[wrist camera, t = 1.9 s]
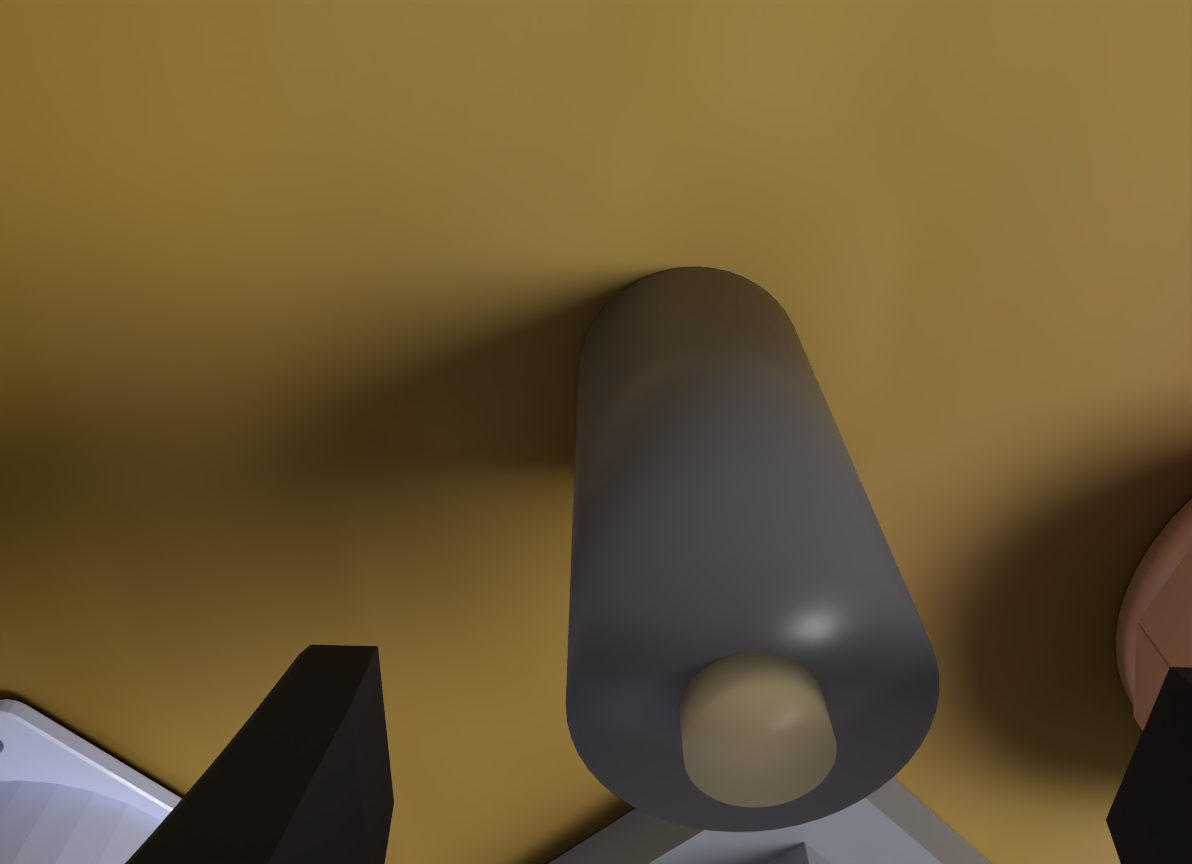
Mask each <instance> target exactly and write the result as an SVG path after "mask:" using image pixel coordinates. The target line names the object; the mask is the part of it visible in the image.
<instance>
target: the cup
mask: <svg viewBox="0 0 1192 864" xmlns="http://www.w3.org/2000/svg"><path fill="white" fill-rule="evenodd" d="M1115 645H1116V660H1117V666H1118V670H1119V674H1120V678H1121V681H1122V685H1123V687H1124V689H1125V691H1126V693H1127V695H1128V697H1129V699H1130V701H1131V703H1132V704H1133V706H1134V713H1133V716H1134V718H1135V720H1136V722H1137V723H1138V725H1139V726H1140V728H1141V729H1142V731H1143V730H1144V727H1145V725H1146V723H1147V720H1148V718H1149V715H1150V713H1151V711H1152V708H1153V706H1154V703H1155V701H1156V699H1157V696H1158V694H1159V692H1160V689H1161V687H1162V684H1163V682H1164V680H1165V677H1166V675H1167V672H1168V670H1169V668H1170V667H1192V498H1191V499H1190V500H1189V501H1188V502H1187V503H1186V504H1185V505H1184V506H1183V507H1182V508H1181V509H1180V510H1179V511H1178V512H1177V513H1176V514H1175V515H1174V516H1173V517H1172V518H1171V520H1170V521H1169V522H1168V524H1167V525H1166V526H1165V527H1164V529H1163V530H1162V531H1161V532H1160V534H1159V535H1158V536H1157V537H1156V539H1155V540H1154V541H1153V542H1152V544H1151V545H1150V547H1149V549H1148V550H1147V552H1146V554H1145V555H1144V557H1143V558H1142V560H1141V562H1140V563H1139V565H1138V566H1137V568H1136V570H1135V572H1134V575H1133V577H1132V579H1131V581H1130V583H1129V586H1128V588H1127V590H1126V592H1125V595H1124V599H1123V602H1122V606H1121V609H1120V613H1119V616H1118V622H1117V631H1116V639H1115Z"/></svg>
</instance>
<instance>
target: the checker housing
mask: <svg viewBox="0 0 1192 864" xmlns="http://www.w3.org/2000/svg"><path fill="white" fill-rule="evenodd" d="M548 864H991V863H990V862H989V861H988V860H986V859H985V858H984V857H983V856H982V855H981V854H980V853H979V852H977V851H976V850H975V849H974V848H973V847H972V846H971V845H969V844H968V843H967V842H966V841H965V840H964V839H963V838H961V837H960V836H959V835H958V834H957V833H956V832H955V831H954V830H952V829H951V828H950V827H949V826H948V825H947V824H946V823H944V822H943V821H942V820H941V819H940V818H939V817H938V816H937V815H935V814H934V813H933V812H932V811H931V810H930V809H929V808H927V807H926V806H925V805H924V804H923V803H922V802H921V801H919V800H918V799H917V798H916V797H915V796H914V795H913V794H912V793H910V792H909V791H908V790H907V789H906V788H905V787H904V786H902V785H901V784H900V783H899V782H898V781H897V780H896V779H895V778H891V779H890V780H889V781H888V782H887V783H885V784H884V785H883V786H882V787H880V788H879V789H878V790H876V791H875V792H873V793H872V794H870V795H869V796H867V797H865V798H864V799H862V800H861V801H859V802H857V803H855V804H853V805H851V806H849V807H847V808H845V809H843V810H841V811H839V812H836V813H834V814H831V815H829V816H826V817H824V818H821V819H818V820H814V821H811V822H808V823H804V824H801V825H796V826H791V827H786V828H781V829H775V830H766V831H757V832H722V831H709V830H703V829H697V828H690V827H686V826H682V825H679V824H675V823H671V822H668V821H665V820H662V819H659V818H657V817H654V816H651V815H649V814H647V813H645V812H643V811H641V810H639V809H637V808H635V809H634V810H632V811H631V812H629V813H627V814H626V815H624V816H623V817H621V818H619V819H618V820H616V821H615V822H613V823H612V824H610V825H608V826H607V827H605V828H604V829H602V830H600V831H599V832H597V833H596V834H594V835H593V836H591V837H589V838H588V839H586V840H585V841H583V842H582V843H580V844H578V845H577V846H575V847H574V848H572V849H570V850H569V851H567V852H566V853H564V854H563V855H561V856H559V857H558V858H556V859H555V860H553V861H552V862H550V863H548Z"/></svg>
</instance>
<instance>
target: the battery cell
mask: <svg viewBox="0 0 1192 864" xmlns="http://www.w3.org/2000/svg"><path fill="white" fill-rule="evenodd" d="M938 696H939V673H938V668H937V662H936V657H935V654H934V652H933V649H932V647H931V644H930V641H929V639H928V637H927V634H926V632H925V630H924V627H923V625H922V623H921V620H920V618H919V616H918V613H917V611H916V609H915V606H914V604H913V602H912V599H911V597H910V595H909V592H908V590H907V588H906V586H905V583H904V581H903V579H902V576H901V574H900V572H899V569H898V567H897V565H896V562H895V560H894V558H893V555H892V553H891V551H890V548H889V546H888V544H887V541H886V539H885V537H884V535H883V532H882V530H881V528H880V525H879V523H878V521H877V518H876V516H875V514H874V511H873V509H872V507H871V504H870V502H869V500H868V497H867V495H866V493H865V491H864V488H863V486H862V484H861V481H860V479H859V477H858V474H857V472H856V470H855V467H854V465H853V463H852V460H851V458H850V456H849V453H848V451H847V449H846V446H845V444H844V442H843V440H842V437H841V435H840V433H839V430H838V428H837V426H836V423H835V421H834V419H833V416H832V414H831V412H830V409H829V407H828V405H827V402H826V400H825V398H824V395H823V393H822V391H821V389H820V386H819V384H818V382H817V379H816V377H815V375H814V372H813V370H812V368H811V365H810V363H809V361H808V358H807V356H806V354H805V351H804V349H803V347H802V344H801V342H800V340H799V338H798V335H797V333H796V331H795V328H794V326H793V324H792V322H791V320H790V319H789V317H788V315H787V313H786V312H785V310H784V309H783V308H782V307H781V305H780V304H779V303H778V302H777V301H776V300H775V299H774V298H773V297H772V296H771V295H770V294H769V293H768V292H767V291H765V290H764V289H763V288H761V287H760V286H758V285H757V284H756V283H754V282H752V281H750V280H748V279H746V278H744V277H742V276H739V275H737V274H734V273H731V272H728V271H724V270H719V269H715V268H705V267H683V268H677V269H670V270H666V271H662V272H659V273H655V274H652V275H650V276H648V277H645V278H643V279H641V280H638V281H637V282H635V283H633V284H632V285H630V286H628V287H626V288H625V289H624V290H622V291H621V292H620V293H619V294H617V295H616V296H615V297H614V298H612V299H611V300H610V301H609V302H608V303H607V304H606V305H605V306H604V308H603V309H602V310H601V311H600V313H599V314H598V315H597V317H596V318H595V320H594V321H593V323H592V325H591V327H590V328H589V330H588V332H587V335H586V337H585V340H584V342H583V345H582V349H581V354H580V359H579V370H578V396H577V422H576V449H575V475H574V501H573V528H572V554H571V580H570V607H569V633H568V659H567V686H566V713H567V723H568V727H569V731H570V735H571V738H572V741H573V743H574V745H575V747H576V750H577V752H578V754H579V756H580V757H581V759H582V760H583V762H584V763H585V765H586V766H587V768H588V769H589V770H590V772H591V773H592V774H593V775H594V776H595V777H596V778H597V779H598V781H599V782H600V783H601V784H602V785H604V786H605V787H606V788H607V789H608V790H610V791H611V792H612V793H613V794H614V795H616V796H617V797H619V798H620V799H622V800H623V801H625V802H626V803H628V804H629V805H631V806H633V807H635V808H637V809H639V810H641V811H643V812H645V813H647V814H649V815H651V816H654V817H657V818H659V819H662V820H665V821H668V822H671V823H675V824H679V825H682V826H686V827H690V828H697V829H703V830H709V831H722V832H757V831H766V830H775V829H781V828H786V827H791V826H796V825H801V824H804V823H808V822H811V821H814V820H818V819H821V818H824V817H826V816H829V815H831V814H834V813H836V812H839V811H841V810H843V809H845V808H847V807H849V806H851V805H853V804H855V803H857V802H859V801H861V800H862V799H864V798H865V797H867V796H869V795H870V794H872V793H873V792H875V791H876V790H878V789H879V788H880V787H882V786H883V785H884V784H885V783H887V782H888V781H889V780H890V779H891V778H893V777H894V776H895V775H896V774H897V773H898V772H899V771H900V770H901V769H902V768H903V767H904V766H905V765H906V764H907V763H908V762H909V760H910V759H911V758H912V756H913V755H914V754H915V752H916V751H917V750H918V748H919V747H920V745H921V744H922V742H923V740H924V738H925V736H926V734H927V733H928V731H929V729H930V726H931V723H932V720H933V718H934V715H935V712H936V707H937V701H938Z"/></svg>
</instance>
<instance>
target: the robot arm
mask: <svg viewBox="0 0 1192 864" xmlns="http://www.w3.org/2000/svg"><path fill="white" fill-rule="evenodd" d="M393 805H394V799H393V789H392V779H391V770H390V760H389V750H388V740H387V731H386V721H385V711H384V702H383V692H382V682H381V673H380V663H379V653H378V646H340V645H310V646H309V647H307V648H306V649H305V650H304V651H303V652H301V653H300V654H299V655H298V657H297V658H296V659H295V661H294V662H293V663H292V664H291V666H290V667H289V668H288V670H287V671H286V672H285V673H284V675H283V676H282V677H281V679H280V680H279V681H278V683H277V684H276V685H275V686H274V688H273V689H272V690H271V691H270V693H269V694H268V695H267V697H266V698H265V699H264V700H263V702H262V703H261V704H260V705H259V707H258V708H257V709H256V711H255V712H254V713H253V714H252V716H251V717H250V718H249V719H248V721H247V722H246V723H245V724H244V726H243V727H242V728H241V729H240V730H239V732H238V733H237V734H236V735H235V737H234V738H233V739H232V740H231V741H230V743H229V744H228V745H227V746H226V747H225V749H224V750H223V751H222V752H221V754H220V755H219V756H218V757H217V758H216V760H215V761H214V762H213V763H212V765H211V766H210V767H209V768H208V769H207V770H206V772H205V773H204V774H203V775H202V776H201V777H200V779H199V780H198V781H197V782H196V783H195V784H194V785H193V787H192V788H191V789H190V790H189V791H188V792H187V794H186V795H185V796H184V797H183V798H180V797H179V796H177V795H175V794H174V793H172V792H170V791H169V790H167V789H165V788H164V787H162V786H160V785H159V784H157V783H155V782H154V781H152V780H150V779H149V778H147V777H145V776H144V775H142V774H140V773H139V772H137V771H135V770H134V769H132V768H131V767H129V766H127V765H126V764H124V763H122V762H121V761H119V760H117V759H116V758H114V757H112V756H111V755H109V754H107V753H106V752H104V751H102V750H101V749H99V748H97V747H96V746H94V745H92V744H91V743H89V742H87V741H86V740H84V739H82V738H81V737H79V736H77V735H76V734H74V733H72V732H71V731H69V730H67V729H66V728H64V727H62V726H61V725H59V724H58V723H56V722H54V721H53V720H51V719H49V718H48V717H46V716H44V715H43V714H41V713H39V712H38V711H36V710H34V709H33V708H31V707H29V706H28V705H26V704H24V703H21V702H19V701H15V700H9V699H5V700H0V864H384V863H385V857H386V850H387V844H388V837H389V831H390V824H391V818H392V812H393ZM1106 821H1107V824H1108V827H1109V830H1110V833H1111V836H1112V839H1113V842H1114V845H1115V848H1116V851H1117V854H1118V856H1119V859H1120V862H1121V864H1192V667H1170V668H1169V670H1168V672H1167V675H1166V677H1165V680H1164V682H1163V684H1162V687H1161V689H1160V692H1159V694H1158V696H1157V699H1156V701H1155V703H1154V706H1153V708H1152V711H1151V713H1150V715H1149V718H1148V720H1147V723H1146V725H1145V727H1144V730H1143V732H1142V735H1141V737H1140V739H1139V742H1138V744H1137V747H1136V749H1135V751H1134V754H1133V756H1132V759H1131V761H1130V763H1129V766H1128V768H1127V771H1126V773H1125V775H1124V778H1123V780H1122V783H1121V785H1120V787H1119V790H1118V792H1117V794H1116V797H1115V799H1114V802H1113V804H1112V806H1111V809H1110V811H1109V814H1108V816H1107V818H1106Z"/></svg>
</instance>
